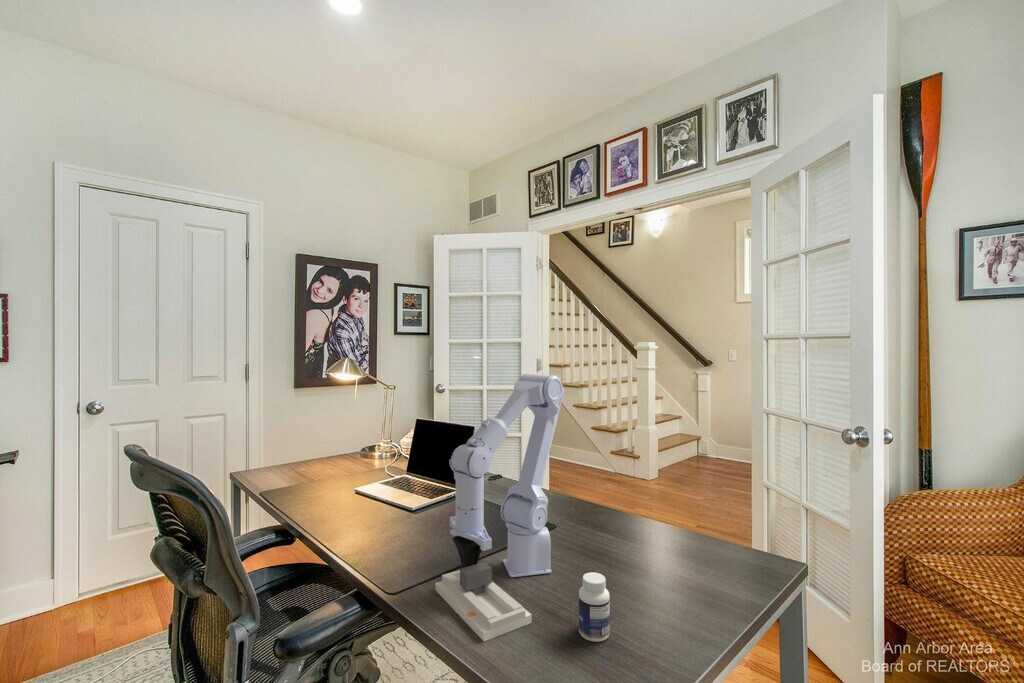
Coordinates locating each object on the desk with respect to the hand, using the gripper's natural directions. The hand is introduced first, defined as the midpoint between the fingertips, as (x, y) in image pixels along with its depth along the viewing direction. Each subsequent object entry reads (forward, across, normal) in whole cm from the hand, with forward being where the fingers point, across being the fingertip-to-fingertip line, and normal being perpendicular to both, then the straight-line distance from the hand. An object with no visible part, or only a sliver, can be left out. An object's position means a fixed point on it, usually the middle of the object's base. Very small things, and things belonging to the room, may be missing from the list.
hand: (469, 572), depth 95 cm
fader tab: (+3, +3, 0) cm, 4 cm away
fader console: (+4, +5, 0) cm, 6 cm away
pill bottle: (+5, +23, +13) cm, 27 cm away
